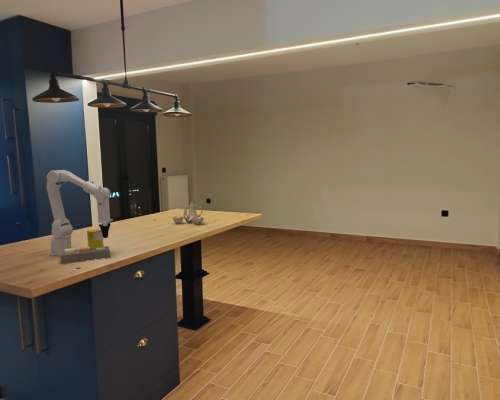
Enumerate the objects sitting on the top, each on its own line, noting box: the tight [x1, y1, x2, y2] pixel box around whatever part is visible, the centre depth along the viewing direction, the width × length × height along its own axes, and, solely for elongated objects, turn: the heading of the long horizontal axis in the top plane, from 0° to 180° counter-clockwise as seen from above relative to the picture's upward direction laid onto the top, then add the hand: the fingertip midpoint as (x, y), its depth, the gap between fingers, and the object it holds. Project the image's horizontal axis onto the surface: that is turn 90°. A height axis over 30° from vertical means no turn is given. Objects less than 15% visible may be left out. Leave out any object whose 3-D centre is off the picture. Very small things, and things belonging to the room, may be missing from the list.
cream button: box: [65, 247, 76, 254], centre depth 186 cm, size 4×4×3 cm
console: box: [59, 245, 111, 265], centre depth 189 cm, size 10×22×4 cm, turn 114°
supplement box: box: [86, 228, 105, 248], centre depth 207 cm, size 6×6×11 cm
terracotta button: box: [79, 246, 90, 252], centre depth 189 cm, size 4×4×3 cm
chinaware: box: [171, 201, 206, 226], centre depth 286 cm, size 28×17×17 cm, turn 72°
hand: (105, 237), depth 196 cm, fingers closed
